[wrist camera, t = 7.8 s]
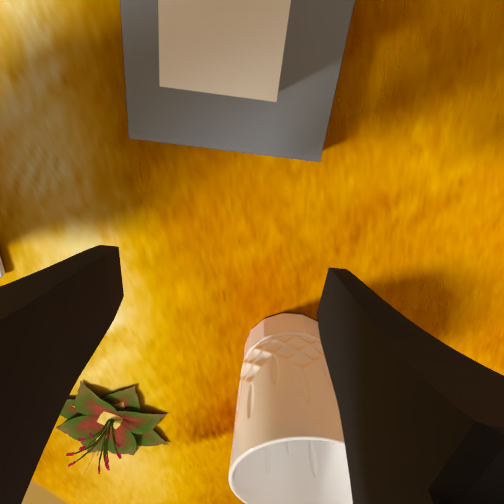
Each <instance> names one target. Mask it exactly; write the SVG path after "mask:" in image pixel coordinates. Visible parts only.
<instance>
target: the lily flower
mask: <svg viewBox="0 0 504 504" xmlns="http://www.w3.org/2000/svg"><path fill="white" fill-rule="evenodd" d="M135 390H136V389H135V386H133V387H131V388H128V389H124V390H123V391H118V392H115V393H113V394H109V395H107V396H105V397H104V398H103V399H102V400H101V399H100V398H99V397H98V396H97V395H95V394H94V393H93V392H92V391H91V390H90V389H88V388H87V387H86V386H85V385H84V383H83V382H82V381H81V382H80V387H79V390H78V393H79V394H78V395H76V398H75V400H73V399H67V401H66V403H65V405H64V407H63V409H62V411H61V413H60V415H61V416H63V417H65V418H67V419H70V420H68V421H66V422H65V423H63V424H62V425H60V427H57V429H59V430H61V431H62V432H64V433H66V434H68V435H69V436H70V437H72V438H74V439H76V440H78V441H81V443H82V445H83V446H82V447H80V449H79V450H80V451H78V452H76V453H74V452H72V453H69V454H68V453H67V455H66V456H73V455H74V454H77V453H79V452H82V451H84V450H86V449H88V450H87V451H88V452H87V453H90V452H96V451H98V453H99V451H101V454H100V458H99V466H98V473H99V472H100V460H101V456H102V451H104V452H103V455H104V461H105V466H106V468H107V470H110V469H109V465H108V462H109V459H108V451H110V452H111V453H114V454H117V456H118V457H119V459H120V458H122V457H121V454H128V453H129V454H130V455H134V452H136V444H138V445H142V446H156V445H160V444H164V445H169V444H168V443H166V442H165V441H164V440H163V439H161V437H160V436H159V435H158V434H157V433H156V432H155V431H154V430H153V429H154V428H155V427H156V425H157V424H158V423H159V422H160V419H161V418H163V417H164V416H166V415H167V414H142V413H139V411H140V405H139V400H138V396H137V394H136V392H135ZM123 401H124V406H125V409H126V411H116V409H115V408H114V407H113V406H111V405H113V404H117V403H120V402H123ZM72 406H75V408H74V407H72ZM103 411H105V412H109V413H112V414H115V415H117V416H120V417H122V418H124V419H123V421H122V423H121V425H120V426H119V427H118V428H117V429H114V427H113V423H114V420H110V419H109V420H108V421H107V422H106V424H105V425H102V424H99V423H97V420H98V418H99V416H100V414H101V413H102V412H103ZM82 414H84V415H87V416H84V415H82ZM109 421H110V422H109ZM108 423H109V424H108ZM107 425H108V426H107ZM99 436H100V437H99ZM98 437H99V439H98V440H97V441H96V439H97V438H98ZM87 453H85V454H84V455H83V456H82V457H84V456H85V455H86V454H87ZM93 454H94V453H93ZM106 454H107V457H106ZM92 456H93V455H92ZM97 456H98V454H97ZM82 457H81V458H82ZM81 458H79V459H78V460H80V459H81ZM91 458H92V457H91ZM78 460H77V461H78ZM77 461H74V462H73V463H71V464H69V466H71V465H73V464H75V462H77ZM106 461H107V462H106ZM69 466H68V467H69ZM88 466H89V465H88ZM87 468H88V467H87ZM99 474H100V473H99ZM83 475H84V474H83Z"/></svg>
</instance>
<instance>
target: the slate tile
mask: <svg viewBox="0 0 504 504" xmlns="http://www.w3.org/2000/svg"><path fill="white" fill-rule="evenodd" d="M354 3H355V0H291V4H290V11H289V18H288V25H287V32H286V39H285V46H284V53H283V60H282V67H281V74H280V81H279V88H278V95H277V102H272V101H264V100H257V99H249V98H242V97H235V96H227V95H220V94H212V93H205V92H198V91H190V90H183V89H175V88H168V87H161V86H160V84H159V21H158V0H120V8H121V24H122V40H123V56H124V71H125V87H126V103H127V118H128V134H129V138H130V139H138V140H146V141H154V142H162V143H170V144H178V145H186V146H194V147H202V148H210V149H218V150H226V151H234V152H243V153H251V154H259V155H267V156H275V157H283V158H291V159H299V160H307V161H315V162H320V159H321V155H322V150H323V146H324V141H325V136H326V132H327V127H328V123H329V118H330V113H331V109H332V104H333V99H334V95H335V90H336V86H337V81H338V76H339V72H340V67H341V63H342V58H343V53H344V49H345V44H346V40H347V35H348V30H349V26H350V21H351V17H352V12H353V7H354Z"/></svg>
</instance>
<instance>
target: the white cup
mask: <svg viewBox="0 0 504 504" xmlns="http://www.w3.org/2000/svg"><path fill="white" fill-rule="evenodd" d="M229 484H230V487H231V489H232V491H233V492H234V494H235V495H236V496H237V497H238V498H239V499H240V500H241V501H243V502H244V503H246V504H353V501H352V493H351V485H350V477H349V470H348V463H347V456H346V450H345V443H344V437H343V431H342V425H341V419H340V413H339V408H338V404H337V400H336V396H335V392H334V388H333V385H332V381H331V378H330V374H329V370H328V367H327V363H326V360H325V356H324V352H323V348H322V345H321V341H320V335H319V328H318V322H317V321H315V320H313V319H311V318H309V317H307V316H304V315H302V314H287V313H282V314H278V315H275V316H272V317H268V318H265V319H263V320H262V321H261V322H260V323H258V324H257V325H256V326H255V327H254V328H252V329H251V331H250V333H249V336H248V338H247V341H246V343H245V351H244V361H243V365H242V370H241V376H240V385H239V391H238V398H237V406H236V415H235V424H234V433H233V442H232V451H231V459H230V468H229Z"/></svg>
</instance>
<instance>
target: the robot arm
mask: <svg viewBox="0 0 504 504" xmlns="http://www.w3.org/2000/svg"><path fill="white" fill-rule="evenodd" d="M4 274H5V270H4V267H3V264H2V260H1V257H0V278H1V277H2V276H4ZM123 297H124V294H123V285H122V276H121V266H120V257H119V248H118V247H116V246H105V245H99V246H96V247H93V248H90V249H88V250H85V251H83V252H81V253H79V254H76V255H74V256H72V257H70V258H67V259H65V260H63V261H61V262H58V263H56V264H54V265H52V266H50V267H47V268H45V269H43V270H40V271H38V272H35V273H33V274H31V275H28V276H26V277H23V278H21V279H18V280H16V281H13V282H11V283H8V284H6V285H3V286H0V504H21V503H22V501H23V498H24V495H25V493H26V491H27V488H28V486H29V484H30V481H31V479H32V476H33V474H34V472H35V469H36V467H37V464H38V462H39V460H40V457H41V455H42V453H43V450H44V448H45V446H46V444H47V441H48V439H49V437H50V435H51V433H52V430H53V428H54V426H55V424H56V421H57V419H58V417H59V415H60V413H61V411H62V409H63V407H64V405H65V403H66V401H67V398H68V396H69V394H70V392H71V390H72V388H73V387H74V385H75V383H76V381H77V379H78V378H79V376H80V374H81V373H82V371H83V369H84V368H85V366H86V365H87V363H88V361H89V360H90V358H91V356H92V355H93V353H94V352H95V350H96V348H97V347H98V345H99V344H100V342H101V340H102V339H103V337H104V335H105V334H106V332H107V330H108V329H109V327H110V325H111V324H112V322H113V320H114V318H115V316H116V313H117V311H118V309H119V306H120V304H121V302H122V299H123ZM317 319H318V328H319V335H320V341H321V345H322V348H323V352H324V356H325V360H326V363H327V367H328V370H329V374H330V378H331V381H332V385H333V388H334V392H335V396H336V400H337V404H338V408H339V413H340V419H341V425H342V431H343V437H344V443H345V450H346V456H347V463H348V470H349V477H350V485H351V493H352V501H353V504H504V376H503V375H501V374H499V373H497V372H495V371H493V370H491V369H489V368H487V367H485V366H483V365H481V364H479V363H478V362H476V361H474V360H472V359H470V358H469V357H467V356H465V355H463V354H461V353H460V352H458V351H456V350H454V349H453V348H451V347H449V346H448V345H446V344H444V343H443V342H441V341H440V340H438V339H436V338H435V337H433V336H432V335H430V334H429V333H427V332H426V331H424V330H423V329H421V328H420V327H418V326H417V325H415V324H414V323H413V322H411V321H410V320H409V319H407V318H406V317H405V316H403V315H402V314H401V313H399V312H398V311H397V310H395V309H394V308H393V307H392V306H390V305H389V304H388V303H387V302H385V301H384V300H383V299H382V298H381V297H379V296H378V295H377V294H376V293H375V292H373V291H372V290H371V289H370V288H369V287H368V286H366V285H365V284H364V283H363V282H362V281H361V280H359V279H358V278H357V277H356V276H355V275H353V274H352V273H351V272H350V271H348V270H347V269H339V268H329V269H328V273H327V277H326V281H325V285H324V289H323V292H322V296H321V300H320V304H319V308H318V312H317Z"/></svg>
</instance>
